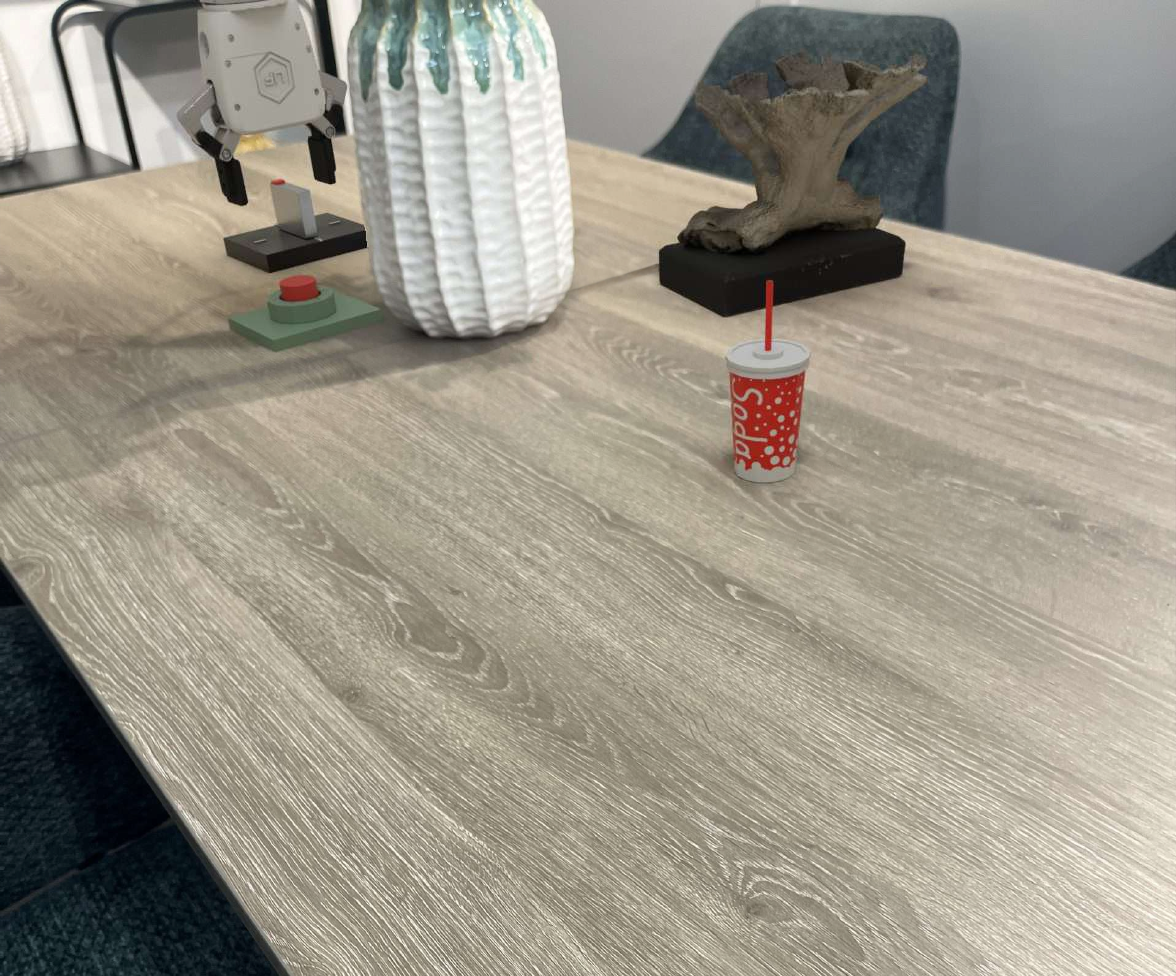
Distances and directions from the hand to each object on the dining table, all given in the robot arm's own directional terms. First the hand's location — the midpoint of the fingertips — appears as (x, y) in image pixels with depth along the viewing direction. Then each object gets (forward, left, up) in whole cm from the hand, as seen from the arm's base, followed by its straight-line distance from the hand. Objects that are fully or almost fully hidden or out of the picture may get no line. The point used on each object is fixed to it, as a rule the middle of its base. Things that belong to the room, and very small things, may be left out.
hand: (282, 192), depth 124 cm
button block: (-2, -3, -13) cm, 13 cm away
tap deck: (+11, +22, -13) cm, 28 cm away
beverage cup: (+7, -59, -13) cm, 61 cm away
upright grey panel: (+11, +22, -10) cm, 27 cm away
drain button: (-2, -3, -9) cm, 10 cm away
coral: (+42, -30, -13) cm, 53 cm away
